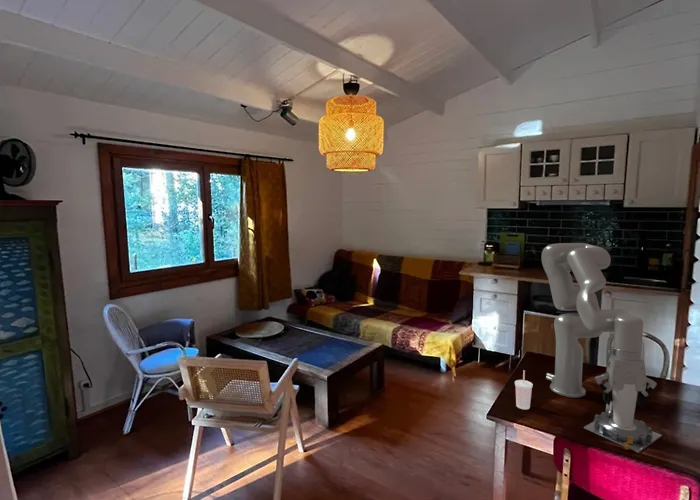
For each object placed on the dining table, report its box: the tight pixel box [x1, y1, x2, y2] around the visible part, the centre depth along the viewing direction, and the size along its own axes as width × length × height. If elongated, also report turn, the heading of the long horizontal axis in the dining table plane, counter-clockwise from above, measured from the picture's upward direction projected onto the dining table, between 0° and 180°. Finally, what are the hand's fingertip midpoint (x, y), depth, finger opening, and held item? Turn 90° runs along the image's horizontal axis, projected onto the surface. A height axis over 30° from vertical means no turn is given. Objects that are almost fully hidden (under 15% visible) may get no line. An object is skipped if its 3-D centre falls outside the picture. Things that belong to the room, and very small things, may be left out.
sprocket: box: [593, 400, 653, 444], centre depth 129 cm, size 16×16×7 cm
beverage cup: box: [514, 369, 534, 410], centre depth 146 cm, size 6×6×14 cm
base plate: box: [583, 421, 663, 453], centre depth 128 cm, size 16×18×1 cm
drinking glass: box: [611, 384, 639, 427], centre depth 128 cm, size 7×7×15 cm
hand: (623, 404), depth 128 cm, fingers open, 9 cm apart
